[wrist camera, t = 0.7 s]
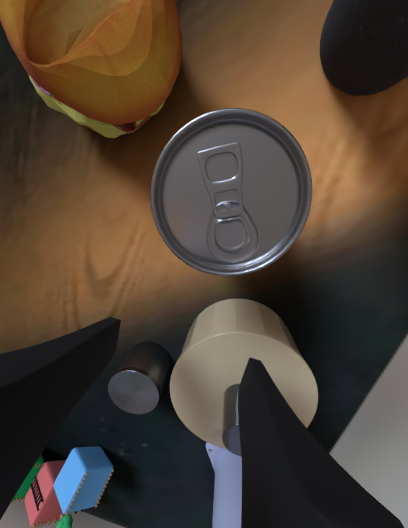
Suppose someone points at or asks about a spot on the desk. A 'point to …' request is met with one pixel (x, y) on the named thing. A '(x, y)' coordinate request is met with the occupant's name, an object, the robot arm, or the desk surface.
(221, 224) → the can
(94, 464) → the building blocks
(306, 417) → the pot lid
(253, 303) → the beige hollow cylinder
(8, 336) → the desk surface
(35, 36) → the cheeseburger
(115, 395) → the tin
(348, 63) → the travel mug
